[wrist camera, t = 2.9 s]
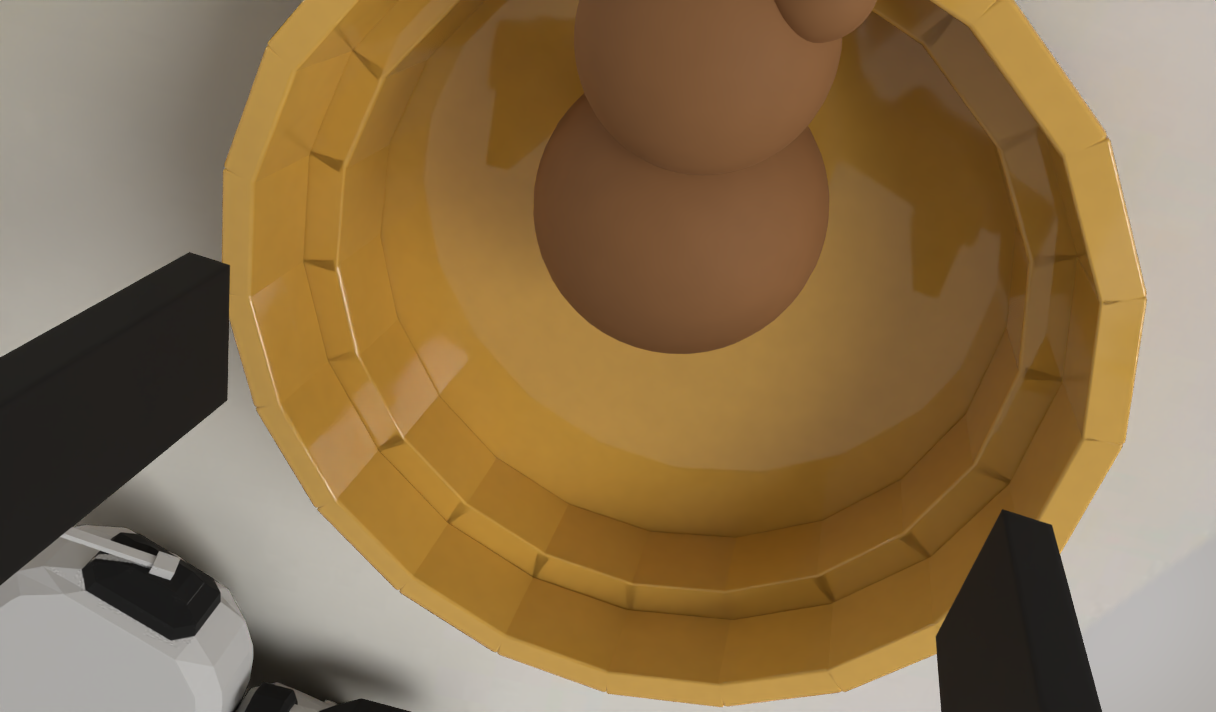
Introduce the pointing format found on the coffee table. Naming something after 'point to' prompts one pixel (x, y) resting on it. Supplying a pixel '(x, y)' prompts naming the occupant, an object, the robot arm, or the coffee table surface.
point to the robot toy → (130, 635)
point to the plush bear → (691, 166)
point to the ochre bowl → (680, 383)
